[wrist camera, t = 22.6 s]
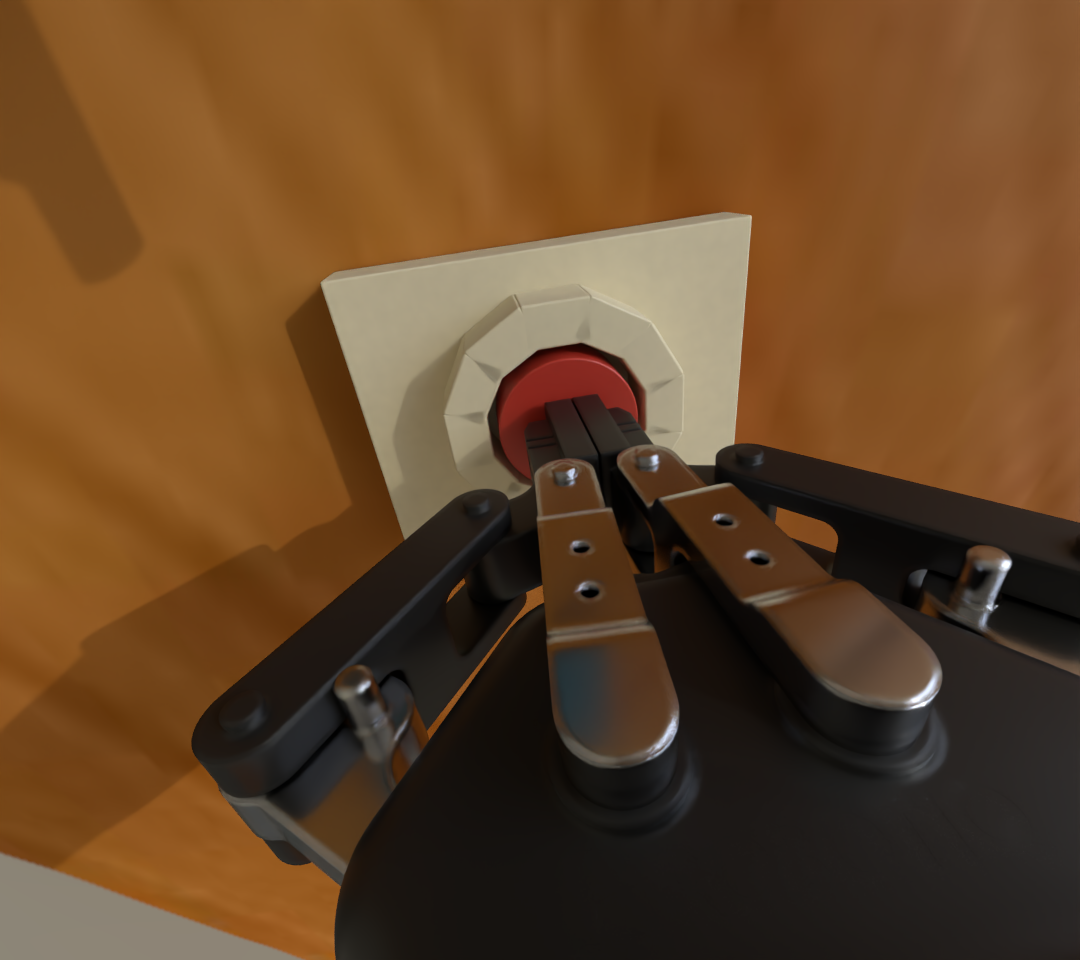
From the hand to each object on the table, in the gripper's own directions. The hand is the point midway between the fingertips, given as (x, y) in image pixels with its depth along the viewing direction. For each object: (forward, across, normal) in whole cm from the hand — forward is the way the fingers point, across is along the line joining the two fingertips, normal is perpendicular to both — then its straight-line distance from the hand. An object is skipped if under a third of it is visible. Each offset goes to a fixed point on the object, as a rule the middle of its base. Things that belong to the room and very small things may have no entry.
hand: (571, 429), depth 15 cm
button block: (+4, 0, 0) cm, 4 cm away
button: (+2, 0, 0) cm, 2 cm away
